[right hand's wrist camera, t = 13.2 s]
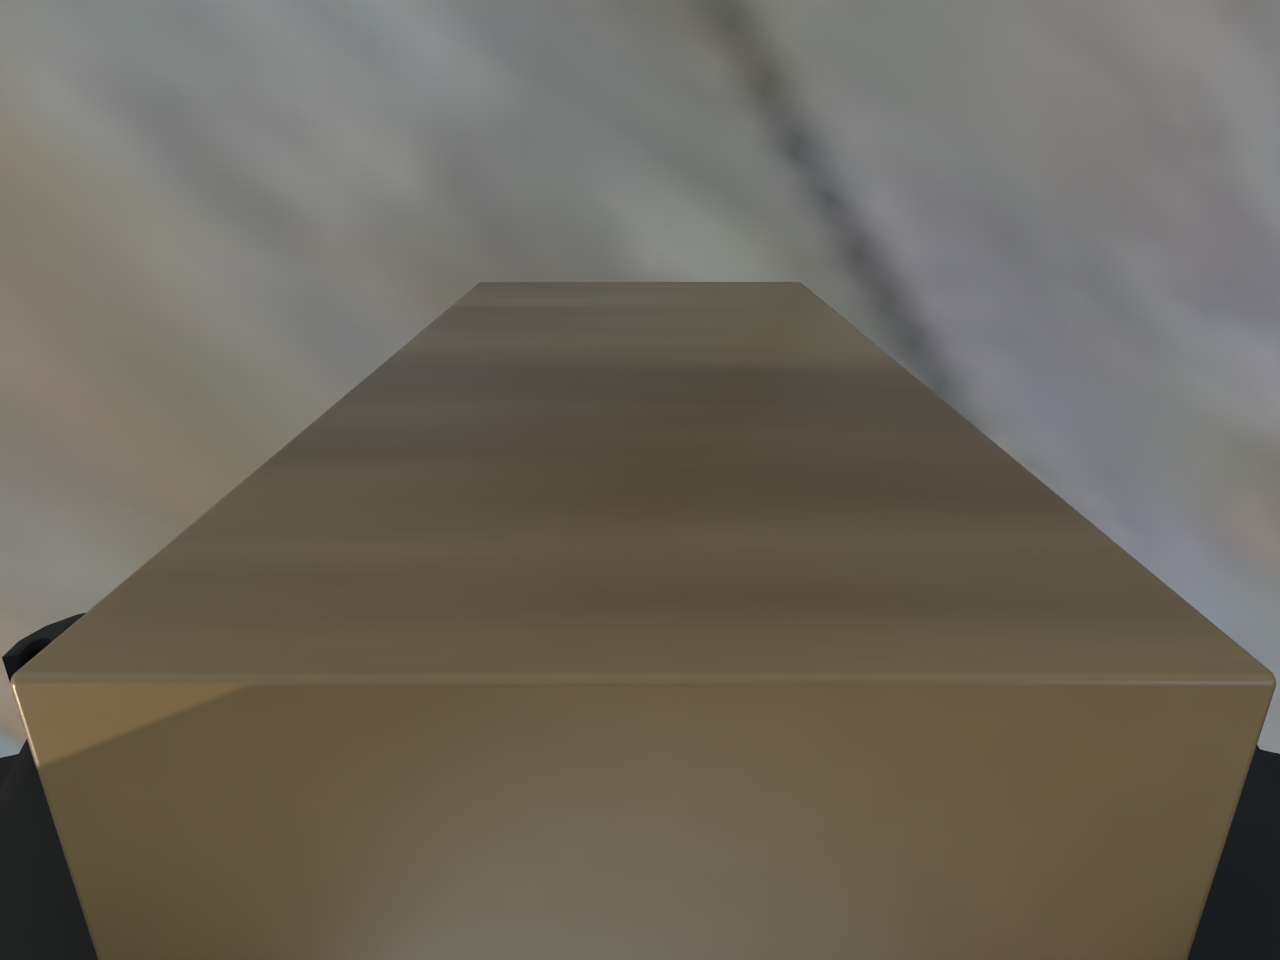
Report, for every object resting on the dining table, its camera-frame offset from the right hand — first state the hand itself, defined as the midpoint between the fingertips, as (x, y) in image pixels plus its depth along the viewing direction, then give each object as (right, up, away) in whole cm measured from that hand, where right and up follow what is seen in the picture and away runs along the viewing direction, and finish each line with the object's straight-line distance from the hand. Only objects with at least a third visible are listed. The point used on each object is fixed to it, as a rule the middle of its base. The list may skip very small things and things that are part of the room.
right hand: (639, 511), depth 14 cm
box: (0, -5, +6) cm, 8 cm away
